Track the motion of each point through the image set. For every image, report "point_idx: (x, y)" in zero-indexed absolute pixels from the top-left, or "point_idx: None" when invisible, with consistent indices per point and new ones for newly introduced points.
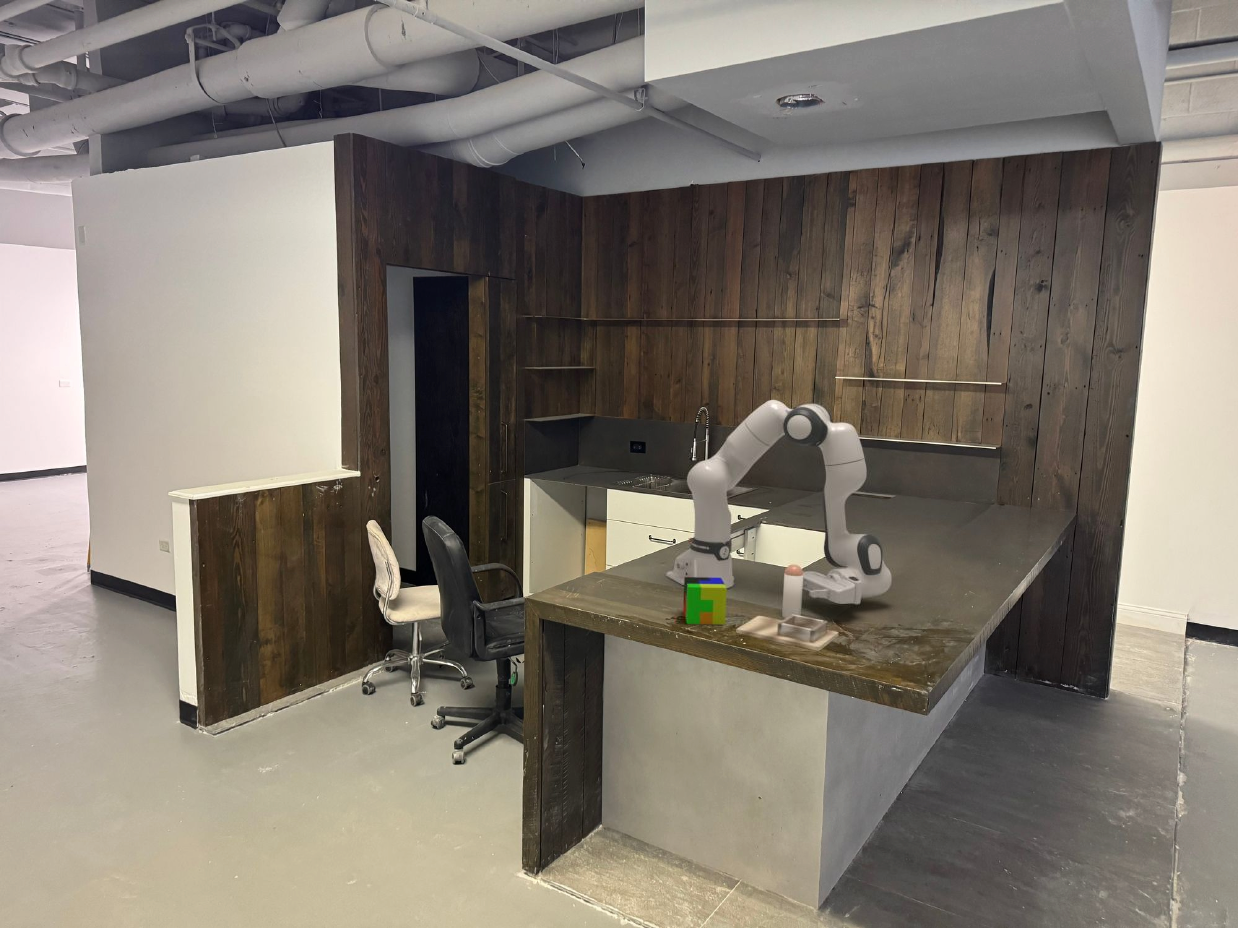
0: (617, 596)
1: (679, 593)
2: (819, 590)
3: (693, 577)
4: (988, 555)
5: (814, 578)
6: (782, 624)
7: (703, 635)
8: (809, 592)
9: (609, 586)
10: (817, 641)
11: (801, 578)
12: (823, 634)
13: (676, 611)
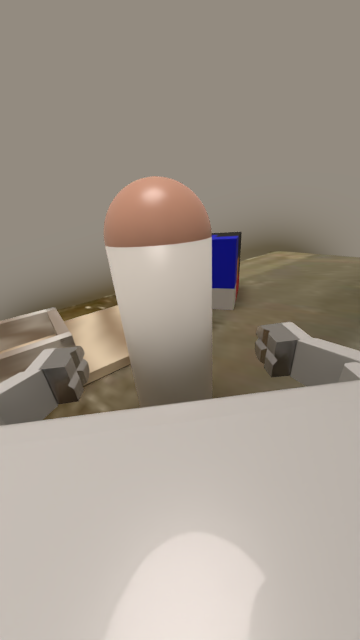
0: (302, 267)
1: (353, 293)
2: (15, 378)
3: (238, 233)
4: None
5: (323, 460)
6: (43, 310)
7: None
8: (82, 354)
9: (350, 265)
10: None
11: (109, 264)
12: None
13: (241, 286)
